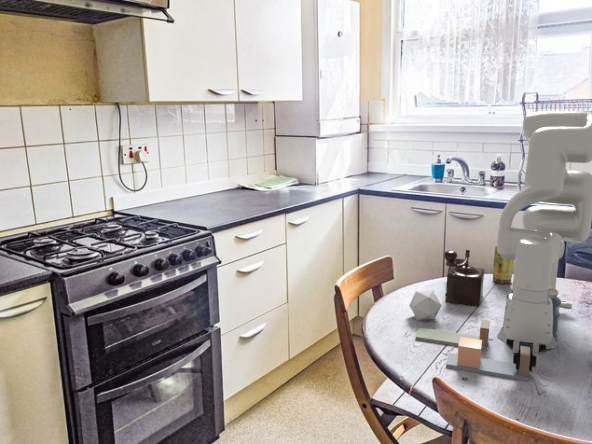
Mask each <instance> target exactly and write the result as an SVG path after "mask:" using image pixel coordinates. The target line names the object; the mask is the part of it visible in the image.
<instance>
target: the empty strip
mask: <svg viewBox="0 0 592 444" xmlns="http://www.w3.org/2000/svg"><path fill="white" fill-rule="evenodd" d="M480 320H481V322H480V328H479V331H480V332H479V335H473V334H467V333H460V332H453V331H446V330H439V329H431V328H425V327H418V330H417V332H416V335H415V340H417V341H423V342H430V343H436V344H441V345H442V344H443V345H448V346H455V347H458V345H459V341H460V337H465V338H472V339H479V340H482V350H481V351H488V346H489V335H490V325H491V324H490V320H484V319H480Z"/></svg>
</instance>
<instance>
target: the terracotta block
mask: <svg viewBox="0 0 592 444" xmlns="http://www.w3.org/2000/svg"><path fill="white" fill-rule="evenodd" d="M457 348H458V349H457V354H458V362H457V365H461V366H466V367H472V368H478V369H479V368H480V362H481V358H482V351H483V350H482V340H479V339H472V338H465V337H460V341H459V345H458V346H457Z"/></svg>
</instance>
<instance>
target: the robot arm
mask: <svg viewBox="0 0 592 444" xmlns="http://www.w3.org/2000/svg"><path fill="white" fill-rule="evenodd" d="M522 128H523V129H522V130H523V134H524V136H525V138H526V141H527V143H528V151H527V159H526V160H527V161H526V168H525V175H524V184H523V187H522V188H521V189H520V190H519V191H518V192H517V193H516V194H514V195H513V196H512V197H511V198H510V199H509V200H508V201H507V203H506V204H505V206H504V207H503V209H502V211H501V214H500V218H499V222H498V228H497V229H498V230H497V236H496V245H497V251H498V254H499V255H500V256H501V257H503V258H505V259H510V260H514V264H513V277H512V284H513V290H512V294H509V296H508V299H507V298H506V304H505V306H506V307H504V315H503V323H502V324H503V325H502V327H501V329H500V331H499V332H498V333H497V338H496V339H498V340H499V341H501V342H503V343H505V344H506V345H507V347H509V348H510V349H511V350H512V353H513V356H512V363H513V364H516V369H519V365H520V347H519V341H522V342H529V343H533V346H532V349H531V350H530V364H529V373H530V372H533V368H536V364H537V358H538V357H537V356H539V354H541V353H543V352H544V351H547V350H546V349H548V350H551V349H555V348H557V342H555V339H554V337H553V334H552V330H553V305H552V300H551V299H550V298H551V297H556V296H557V297H558V295H557V291H558V290H557V291H553V290H551V288H550V285H551V286H552V287H553V288H555V289H556V287H557V279H558V278H557V275H558V266H559V260H560V259H562V258H563V256H564V253H565V246H566V245H565V242H568V243H569V242H571V243H583V242H584V241H586V240H587V239H588V238H589V237H590V234H591V228H592V174H591V173H590V172H588V171H585V170H571V169H570V170H569V169H567V163H571V164H572V163H577V164H578V163H579V164H587V163H591V162H592V111H563V110H562V111H559V110H558V111H555V110H554V111H535V112H531V113H528V114H527V115H525V116H524V118H523V121H522ZM536 203H542V204H549V205H550V204H551V205H565V206H572V207H564V206H563V207H562V206H551V205H550V206H549V205H533V204H536ZM530 205H533V206H530ZM529 206H530V207H529ZM526 207H528V208H526ZM525 208H526V209H525ZM523 209H525V210H524V212H523V215H522V220H521V221H522V223H521V224H522V228H520V227H519V228H517V227H514V228H511V226H513V225H512V224H513V221H514V218H515V216H516V215H517V214H518V212H520V211H521V210H523ZM560 300H561V305H560V306H559V307H558V311H559V312H560V309H564V310H572V307H573V302H568V301H567V300H566V299H560Z"/></svg>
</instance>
